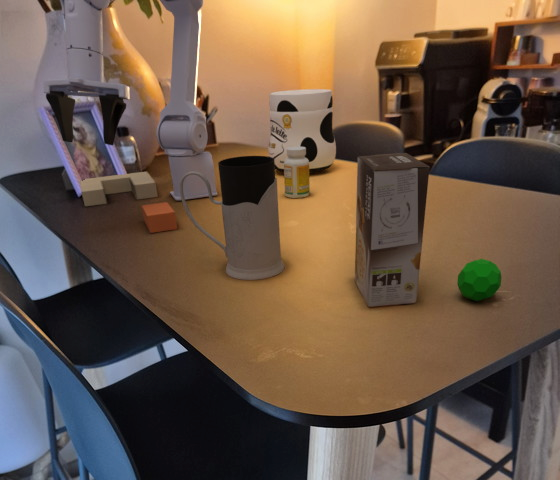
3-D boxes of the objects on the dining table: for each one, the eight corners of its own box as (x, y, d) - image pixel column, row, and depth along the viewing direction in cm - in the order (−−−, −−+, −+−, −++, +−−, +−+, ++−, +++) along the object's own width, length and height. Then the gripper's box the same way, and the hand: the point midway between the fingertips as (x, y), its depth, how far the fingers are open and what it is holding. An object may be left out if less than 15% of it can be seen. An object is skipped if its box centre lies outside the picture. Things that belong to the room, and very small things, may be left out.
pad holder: (149, 185, 128) (146, 171, 127) (157, 196, 117) (155, 182, 115) (82, 193, 124) (79, 179, 122) (85, 206, 113) (81, 191, 111)
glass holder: (278, 280, 72) (272, 167, 64) (182, 278, 74) (164, 169, 66) (288, 258, 79) (284, 154, 71) (200, 257, 81) (186, 156, 73)
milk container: (256, 174, 132) (250, 95, 123) (293, 161, 144) (290, 88, 134) (313, 180, 124) (312, 95, 114) (347, 166, 135) (349, 88, 126)
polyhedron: (504, 305, 62) (512, 267, 59) (464, 308, 61) (470, 270, 59) (487, 288, 66) (493, 252, 63) (449, 291, 66) (454, 255, 63)
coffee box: (418, 303, 63) (432, 165, 54) (367, 308, 63) (373, 170, 54) (397, 276, 71) (407, 151, 62) (352, 279, 71) (355, 155, 62)
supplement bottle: (282, 198, 110) (280, 150, 105) (287, 192, 114) (285, 146, 109) (307, 198, 109) (306, 150, 104) (311, 192, 113) (310, 145, 108)
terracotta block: (170, 218, 101) (167, 201, 100) (177, 229, 95) (174, 211, 93) (144, 222, 100) (141, 205, 98) (150, 233, 94) (147, 215, 92)
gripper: (29, 44, 82) (35, 137, 86) (115, 48, 80) (116, 142, 84) (55, 57, 88) (59, 142, 93) (134, 60, 87) (135, 147, 91)
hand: (88, 143), depth 89 cm, fingers open, 7 cm apart
